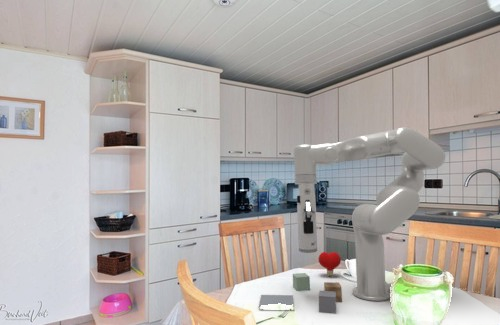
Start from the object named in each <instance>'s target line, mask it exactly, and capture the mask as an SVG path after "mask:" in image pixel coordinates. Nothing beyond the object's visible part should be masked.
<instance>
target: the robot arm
mask: <svg viewBox="0 0 500 325" xmlns="http://www.w3.org/2000/svg"><path fill="white" fill-rule="evenodd" d="M403 152H404V153H403ZM398 153H403V154H402V157H401V166H402V167H401V168H402V170H401V173H400V174H399V175H398V176H397V177H396V178H394V180H393V181H392V182H390V183H389V184H388V185H386V186H385V187H384V188H383V189H381V190H380V191H379V192H378V193H377V196H376V200H375V202H376V204H373V203H371V204H370V203H362V204H359V205H358V206H356V207H355V208H354V210H353V211H352V215H351V223H352V224H351V225H352V227H353V233H354V242H355V243H354V245H355V267H356V268H355V270H356V273H355V274H356V286H355V287H353V288H352V294H353V296H354V297H356V298H359V299H362V300H367V301H372V302H373V301H374V302H376V301H377V302H378V301H379V302H380V301H387V300H389V299H391V297H390V293H391V292H390V287H391V284H392V282H391V283H388V282H387V281H386V267H385V266H386V265H385V262H386V261H385V243H384V237H383V235H384V236H385V235H388V234H391V233H393V231H395V230H396V229H397V228H399V227H400V226H401V225H402V224H404V223H405V222H406V221H407V220H408V219H410V218H411V217H412V216H413V215H414V214H415V213H416V212H417V210H418V209H419V206H420V203H421V202H420V196H419V193H420V191H421V190H422V189H423V187H424V183H425V182H424V181H425V174H424V171H425V170H436V169H438V168H440V167H441V166H443V164H444V163H445V161H446V153H445V152H444V149H443V148H442V147H441V146H440V145H439V144H437V143H435V142H434V141H433V140H431V139H429V138H428V137H426V136H425V135H423V134H421V133H420V132H419V131H417V130H415V129H413V128H410V127H407V126H402V127H398V128H395V129H391V130H386V131H381V132H380V131H379V132H376V133H369V134H363V135H359V136H356V137H353V138H350V139H346V140H342V141H339V142H335V143H331V142H330V143H329V142H326V143H321V144H320V143H319V144H298V145H295V146H294V147H293V158H294V159H293V164H294V165H293V167H294V185H298V196H300V205H301V211H302V213H304V222H303V225H304V234H313V233H314V231H313V219H312V211H315V212H314V213H317V205H316V204H317V202H316V195H315V193H316V191H315V185H317V184H318V182H317V180H318V177H317V166H318V167H322V166H330V165H333V164H339V163H344V162H351V161H361V160H366V159H372V158H376V157H377V158H378V157H382V156H388V155H392V154H398ZM309 200H310V201H309ZM305 201H306V202H305ZM310 208H311V209H310ZM305 210H307V212H305Z"/></svg>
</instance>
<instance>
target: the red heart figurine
mask: <svg viewBox="0 0 500 325" xmlns="http://www.w3.org/2000/svg"><path fill="white" fill-rule="evenodd" d="M341 262H342V259H341V256H340V255H339V253H337V252H336V251H331V252H329V253H328V252H326V251H322V252H321V253H320V254H319V256H318V263H319V264H320V265H321V267H323V268H324V269H326V275H327V276H328V277H332V276H333V275H334V270H335V269H336V268H339V266H340V264H341ZM320 265H319V266H320Z"/></svg>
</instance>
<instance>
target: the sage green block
mask: <svg viewBox="0 0 500 325" xmlns="http://www.w3.org/2000/svg"><path fill="white" fill-rule="evenodd" d="M310 279H311V278H310V276H309V274H308V273H306V272H299V273H292V287H293V288H294V290H295V291H297V292H305V291H310V290H311V284H310V282H311V280H310Z"/></svg>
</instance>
